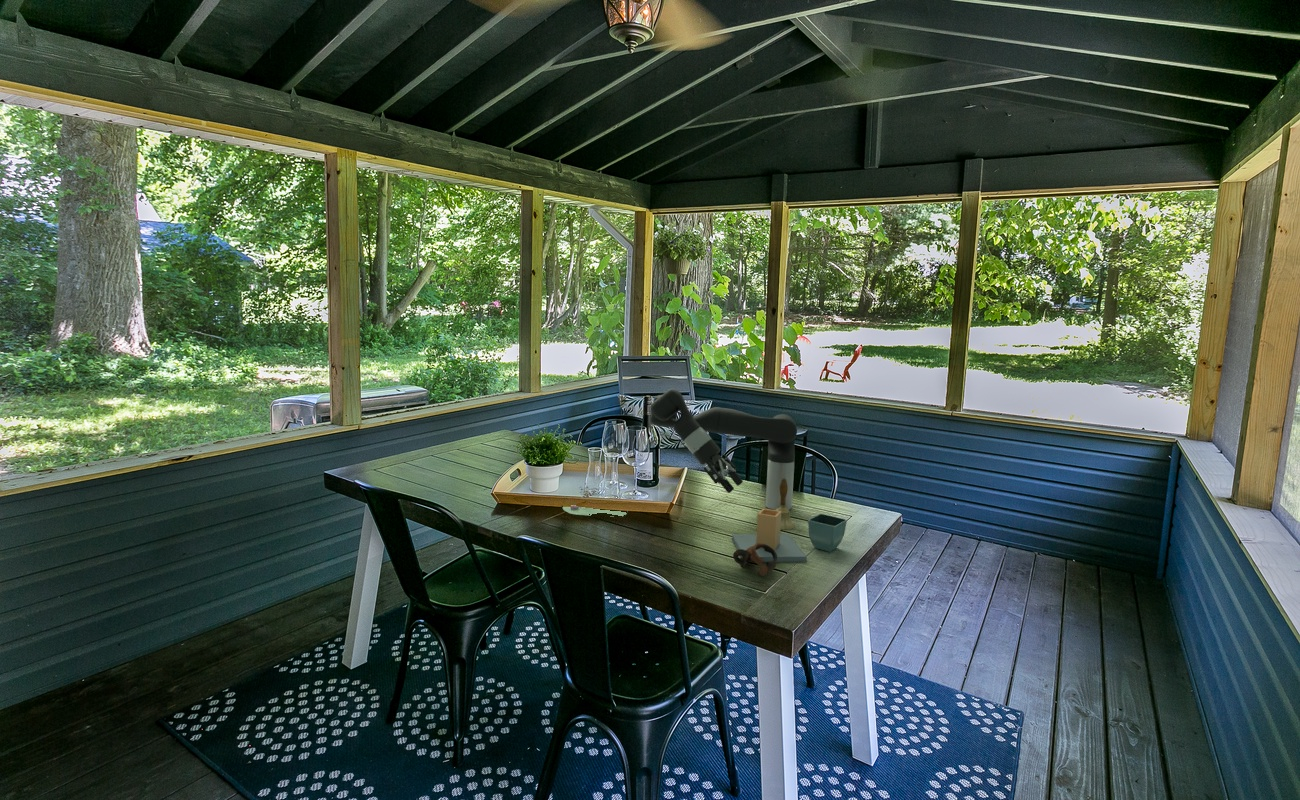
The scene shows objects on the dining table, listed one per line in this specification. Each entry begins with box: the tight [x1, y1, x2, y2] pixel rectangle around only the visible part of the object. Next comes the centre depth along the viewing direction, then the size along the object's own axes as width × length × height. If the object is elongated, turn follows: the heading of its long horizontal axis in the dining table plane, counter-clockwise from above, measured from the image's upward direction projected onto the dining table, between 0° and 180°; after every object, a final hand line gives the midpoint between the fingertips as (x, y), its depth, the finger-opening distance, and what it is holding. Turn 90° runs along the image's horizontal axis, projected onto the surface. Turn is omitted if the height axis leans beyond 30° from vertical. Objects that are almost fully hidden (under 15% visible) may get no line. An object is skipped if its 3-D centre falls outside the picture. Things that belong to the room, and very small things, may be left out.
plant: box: [562, 483, 628, 517], centre depth 233 cm, size 25×21×9 cm
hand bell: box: [776, 478, 796, 531], centre depth 218 cm, size 8×8×16 cm
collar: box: [756, 508, 781, 550], centre depth 197 cm, size 6×6×10 cm
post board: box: [731, 533, 808, 563], centre depth 197 cm, size 18×18×8 cm
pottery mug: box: [732, 543, 777, 577], centre depth 182 cm, size 12×10×8 cm
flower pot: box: [807, 513, 848, 553], centre depth 199 cm, size 9×9×9 cm
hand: (736, 487), depth 199 cm, fingers open, 8 cm apart
